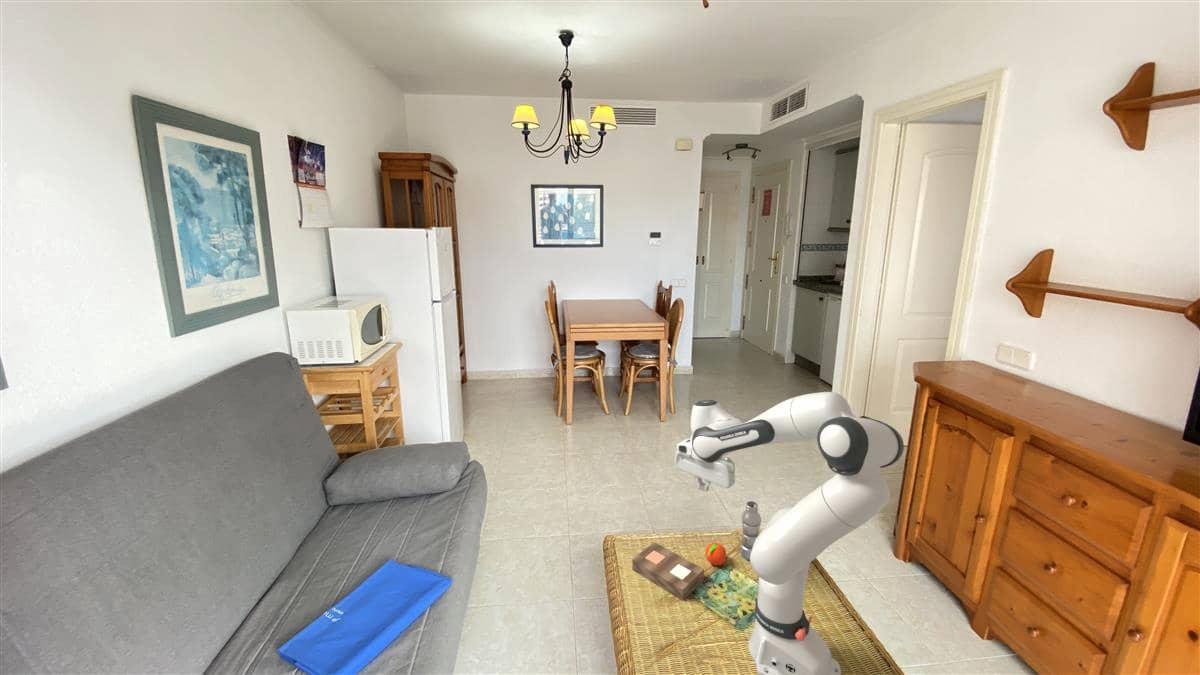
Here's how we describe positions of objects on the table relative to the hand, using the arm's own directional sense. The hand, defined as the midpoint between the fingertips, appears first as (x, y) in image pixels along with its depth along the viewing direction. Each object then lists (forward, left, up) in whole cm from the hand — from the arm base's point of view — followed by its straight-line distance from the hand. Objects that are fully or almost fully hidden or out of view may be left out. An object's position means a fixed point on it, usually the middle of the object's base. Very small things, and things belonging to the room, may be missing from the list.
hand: (703, 489), depth 152 cm
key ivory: (+1, +10, -28) cm, 30 cm away
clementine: (-2, -5, -29) cm, 30 cm away
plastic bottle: (-9, -16, -29) cm, 35 cm away
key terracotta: (+12, +10, -28) cm, 32 cm away
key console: (+6, +10, -29) cm, 31 cm away
